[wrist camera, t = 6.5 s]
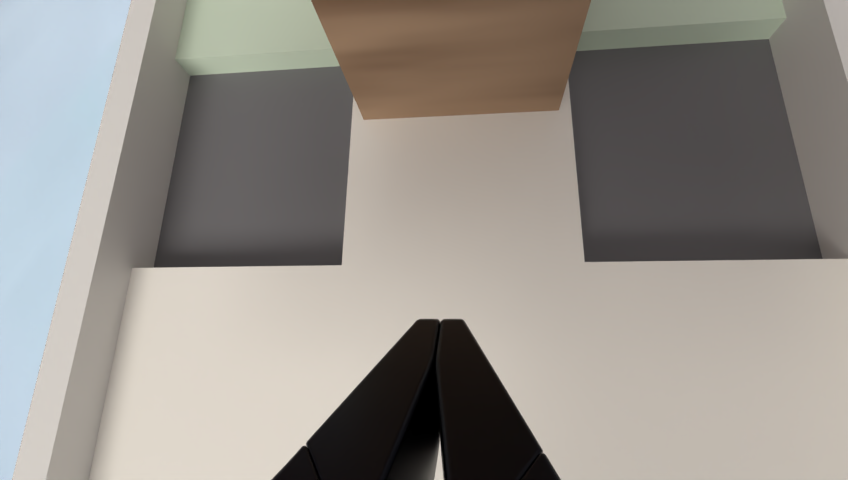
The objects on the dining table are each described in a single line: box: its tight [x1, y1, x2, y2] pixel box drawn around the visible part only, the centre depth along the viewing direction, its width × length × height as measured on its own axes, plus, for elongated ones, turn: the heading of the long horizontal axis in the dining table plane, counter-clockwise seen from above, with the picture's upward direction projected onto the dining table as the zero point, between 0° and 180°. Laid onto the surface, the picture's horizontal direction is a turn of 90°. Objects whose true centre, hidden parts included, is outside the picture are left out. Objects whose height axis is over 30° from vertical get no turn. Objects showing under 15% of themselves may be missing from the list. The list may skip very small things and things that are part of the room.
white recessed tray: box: [12, 0, 848, 480], centre depth 17 cm, size 34×29×3 cm
